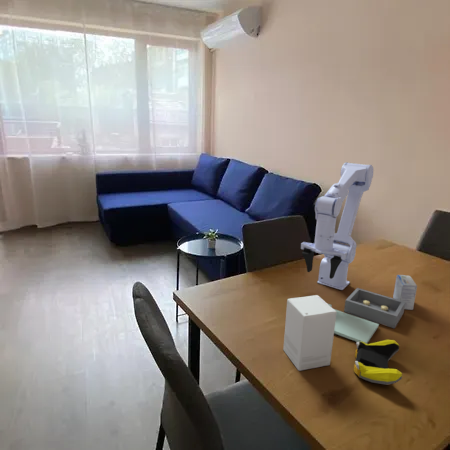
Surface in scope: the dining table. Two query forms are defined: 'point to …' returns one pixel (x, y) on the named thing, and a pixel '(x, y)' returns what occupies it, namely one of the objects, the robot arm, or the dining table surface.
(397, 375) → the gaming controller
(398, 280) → the medicine box
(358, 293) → the tub
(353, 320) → the lid
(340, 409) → the dining table surface
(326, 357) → the supplement box
